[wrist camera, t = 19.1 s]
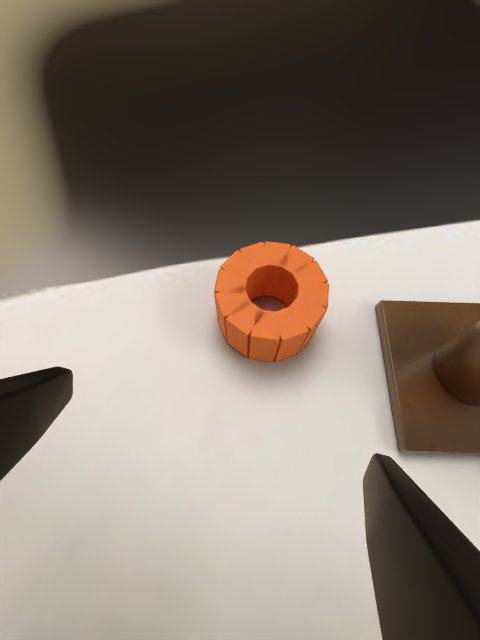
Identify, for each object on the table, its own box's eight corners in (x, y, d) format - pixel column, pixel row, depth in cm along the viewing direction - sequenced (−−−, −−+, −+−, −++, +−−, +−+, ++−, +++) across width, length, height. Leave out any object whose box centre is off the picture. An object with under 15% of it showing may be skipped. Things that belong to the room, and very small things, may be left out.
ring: (332, 341, 23) (349, 316, 19) (239, 375, 22) (239, 356, 18) (290, 263, 25) (298, 229, 22) (206, 291, 24) (200, 260, 21)
